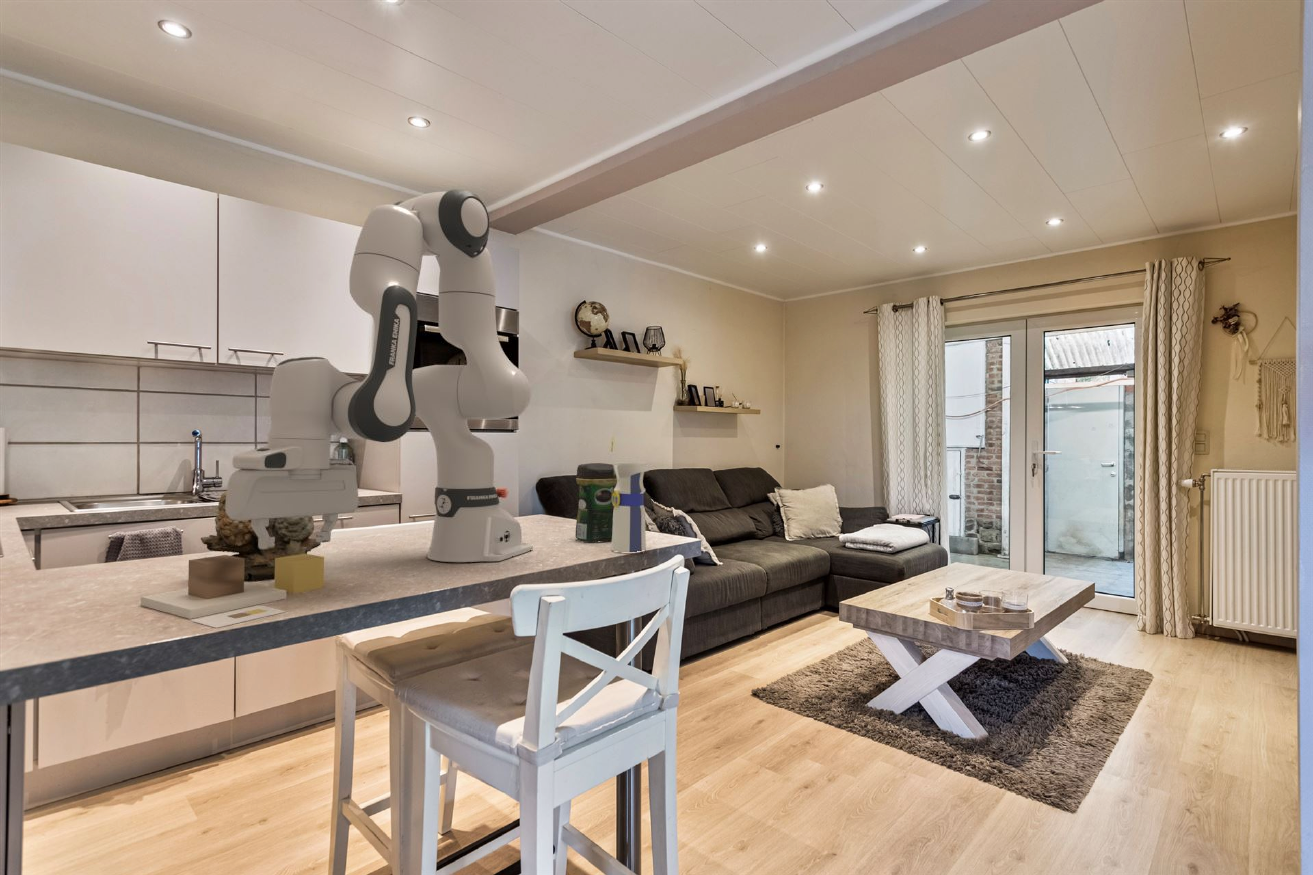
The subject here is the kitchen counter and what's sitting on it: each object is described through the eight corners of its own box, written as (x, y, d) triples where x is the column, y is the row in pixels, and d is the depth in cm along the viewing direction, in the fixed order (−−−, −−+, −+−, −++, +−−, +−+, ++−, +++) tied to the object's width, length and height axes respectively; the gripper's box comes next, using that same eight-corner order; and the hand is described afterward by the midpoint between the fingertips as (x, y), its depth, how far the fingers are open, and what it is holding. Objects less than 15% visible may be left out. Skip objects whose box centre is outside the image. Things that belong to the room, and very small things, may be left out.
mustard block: (304, 583, 108) (305, 553, 108) (323, 587, 106) (324, 556, 106) (274, 589, 104) (275, 558, 104) (293, 594, 101) (294, 561, 101)
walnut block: (224, 587, 99) (225, 554, 99) (243, 592, 97) (244, 558, 97) (188, 594, 95) (188, 560, 95) (207, 599, 92) (208, 563, 92)
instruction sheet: (259, 605, 94) (259, 604, 94) (285, 611, 91) (285, 610, 91) (190, 620, 86) (190, 619, 86) (216, 628, 83) (216, 626, 83)
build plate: (236, 587, 104) (236, 579, 104) (286, 598, 98) (286, 590, 98) (140, 605, 93) (141, 596, 93) (190, 618, 87) (190, 609, 87)
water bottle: (619, 555, 139) (621, 437, 139) (603, 548, 146) (605, 436, 146) (654, 552, 142) (656, 437, 142) (636, 546, 150) (638, 437, 150)
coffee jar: (604, 536, 164) (606, 462, 164) (621, 540, 158) (622, 463, 157) (570, 539, 159) (571, 462, 159) (585, 544, 152) (587, 464, 152)
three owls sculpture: (206, 588, 104) (207, 481, 104) (194, 576, 113) (195, 477, 113) (328, 573, 116) (329, 476, 116) (309, 563, 125) (309, 473, 125)
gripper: (343, 458, 115) (340, 537, 115) (221, 456, 97) (217, 550, 96) (368, 458, 112) (365, 540, 112) (246, 457, 94) (242, 554, 94)
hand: (295, 545), depth 104 cm, fingers open, 8 cm apart
